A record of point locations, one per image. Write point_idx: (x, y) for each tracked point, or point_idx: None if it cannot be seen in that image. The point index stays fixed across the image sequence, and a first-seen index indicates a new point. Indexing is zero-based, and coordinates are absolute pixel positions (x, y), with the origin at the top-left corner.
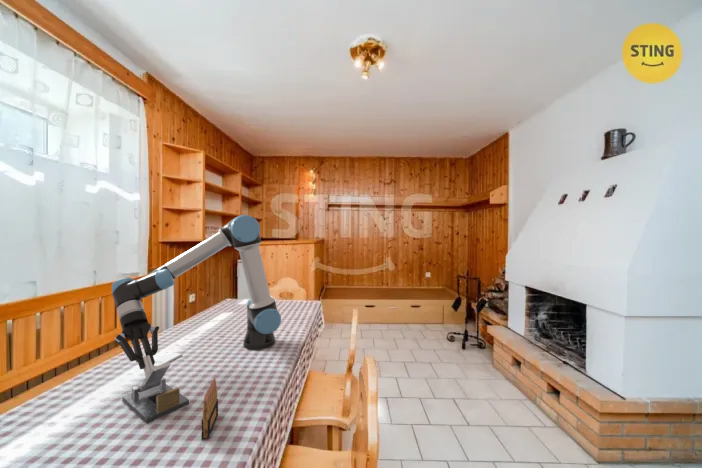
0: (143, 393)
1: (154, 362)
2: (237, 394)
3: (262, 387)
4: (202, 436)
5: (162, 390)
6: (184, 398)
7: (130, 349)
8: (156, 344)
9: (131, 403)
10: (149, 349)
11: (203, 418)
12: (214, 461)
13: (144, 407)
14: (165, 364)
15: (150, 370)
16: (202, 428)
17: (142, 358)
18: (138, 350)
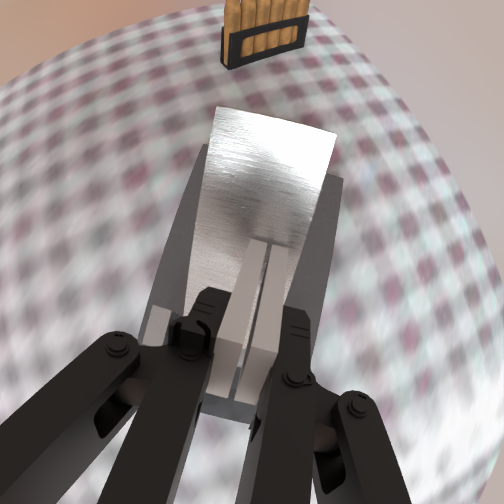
0: (237, 369)
1: (205, 290)
2: (120, 83)
3: (82, 65)
4: (303, 41)
5: (183, 308)
6: (201, 164)
7: (381, 490)
8: (62, 388)
9: (312, 334)
10: (172, 391)
11: (307, 10)
12: (325, 17)
13: (308, 250)
14: (245, 111)
15: (326, 167)
16: (305, 28)
17: (277, 364)
18: (298, 445)
